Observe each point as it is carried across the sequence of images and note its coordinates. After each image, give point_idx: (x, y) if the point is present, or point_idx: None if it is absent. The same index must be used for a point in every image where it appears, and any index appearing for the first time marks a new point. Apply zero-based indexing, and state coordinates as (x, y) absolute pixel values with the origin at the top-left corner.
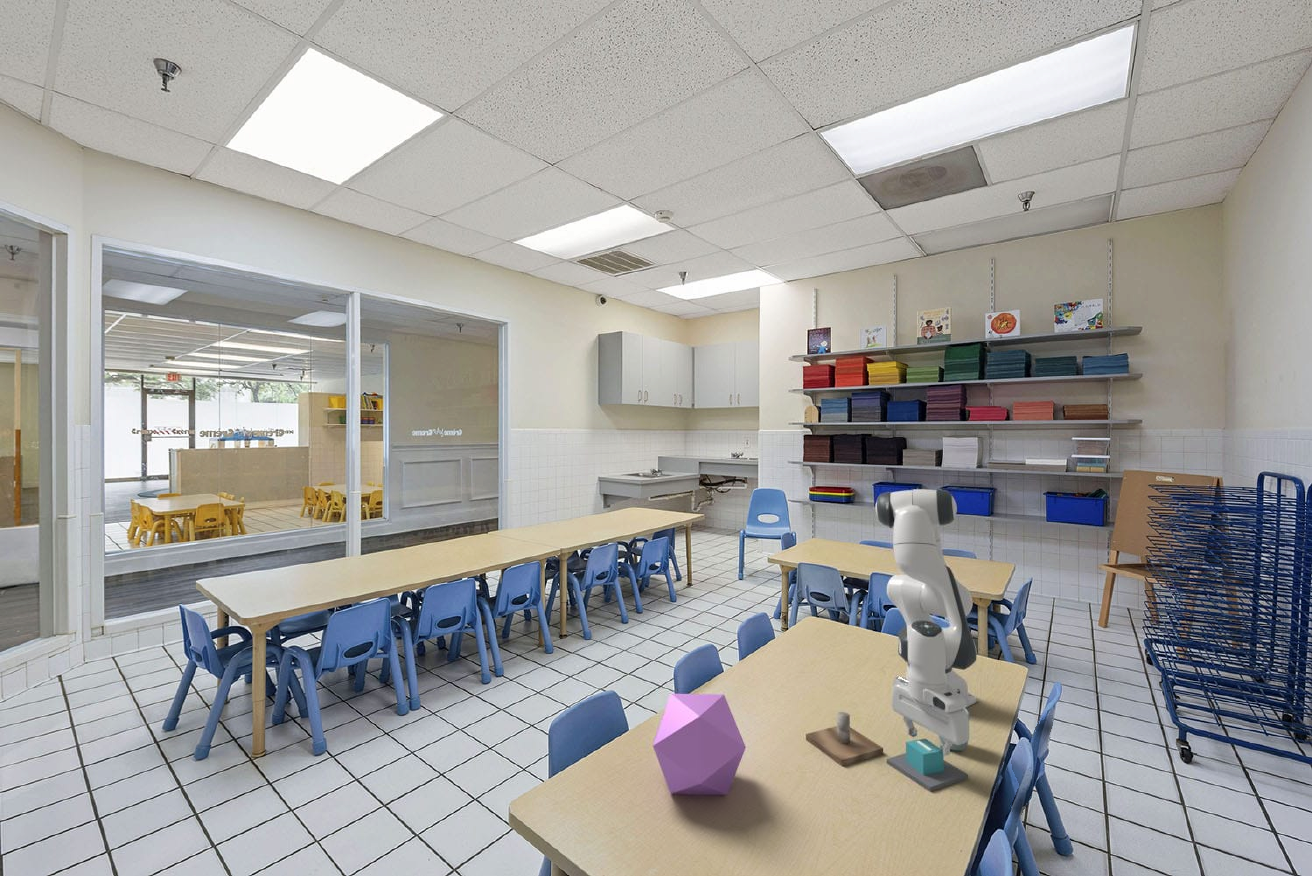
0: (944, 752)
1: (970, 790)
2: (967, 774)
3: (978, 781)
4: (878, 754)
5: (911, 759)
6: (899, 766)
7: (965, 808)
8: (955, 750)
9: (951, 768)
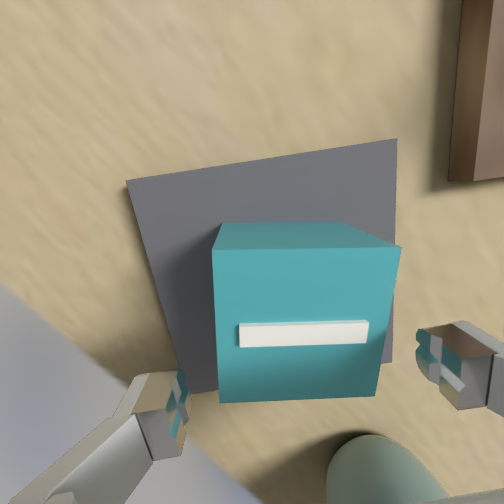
0: (131, 388)
1: (120, 340)
2: None
3: None
4: (453, 149)
5: (309, 227)
6: (316, 156)
7: (5, 241)
8: (339, 448)
9: None
